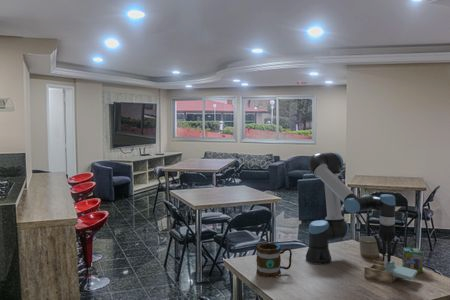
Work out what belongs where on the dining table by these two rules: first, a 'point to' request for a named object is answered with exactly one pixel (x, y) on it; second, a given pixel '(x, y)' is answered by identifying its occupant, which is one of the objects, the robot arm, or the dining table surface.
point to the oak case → (378, 272)
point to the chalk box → (412, 258)
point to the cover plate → (400, 271)
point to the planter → (368, 247)
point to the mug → (270, 260)
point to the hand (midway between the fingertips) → (386, 267)
